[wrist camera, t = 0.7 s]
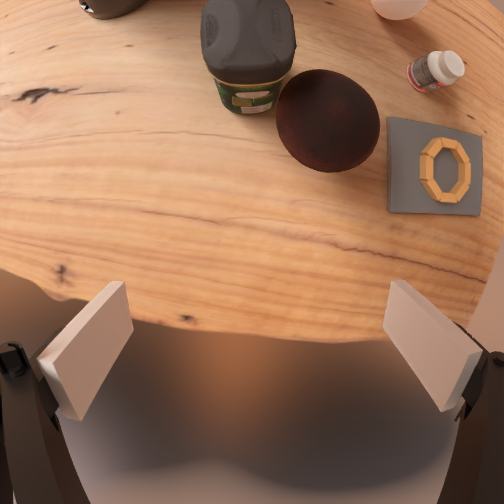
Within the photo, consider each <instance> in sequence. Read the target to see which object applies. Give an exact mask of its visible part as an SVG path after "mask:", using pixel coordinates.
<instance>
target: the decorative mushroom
mask: <svg viewBox="0 0 504 504" xmlns="http://www.w3.org/2000/svg"><path fill="white" fill-rule="evenodd" d="M276 125H277V129H278V133H279V137H280V139H281V141H282V142H283V144H284V146H285V147H286V149H287V150H288V152H289V153H290V154H291V155H292V156H293V157H294V158H295V159H296V160H298V161H299V162H300V163H302V164H303V165H305V166H307V167H309V168H311V169H314V170H316V171H321V172H327V173H331V172H341V171H345V170H349V169H352V168H354V167H356V166H358V165H360V164H361V163H362V162H364V161H365V160H366V159H367V158H368V157H369V156H370V155H371V154H372V152H373V150H374V148H375V146H376V144H377V141H378V138H379V132H380V121H379V115H378V111H377V108H376V105H375V103H374V101H373V99H372V98H371V97H370V95H369V94H368V93H367V92H366V91H365V90H364V89H363V88H362V87H361V86H360V85H359V84H357V83H356V82H355V81H353V80H352V79H350V78H348V77H346V76H344V75H342V74H340V73H337V72H334V71H329V70H322V69H317V70H309V71H305V72H302V73H300V74H298V75H296V76H295V77H293V78H292V79H291V80H290V81H289V82H288V83H287V84H286V86H285V87H284V89H283V90H282V92H281V95H280V97H279V100H278V104H277V110H276Z"/></svg>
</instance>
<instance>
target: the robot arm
mask: <svg viewBox="0 0 504 504" xmlns="http://www.w3.org/2000/svg"><path fill="white" fill-rule="evenodd" d="M147 1H148V0H79V3H80V6H81V7H82V9H83V10H84V11H85V12H86V13H88V14H89V15H90V16H92V17H94V18H97V19H110V18H115V17H118V16H121V15H124V14H127V13H129V12H131V11H133V10H135V9H136V8H138V7H140V6H141V5H143V4H144V3H146V2H147ZM382 328H383V329H384V331H385V332H386V334H387V335H388V336H389V338H390V339H391V340H392V342H393V343H394V344H395V346H396V347H397V349H398V350H399V351H400V353H401V354H402V356H403V357H404V358H405V360H406V361H407V363H408V364H409V365H410V367H411V368H412V370H413V371H414V373H415V374H416V375H417V377H418V378H419V380H420V381H421V383H422V384H423V386H424V387H425V388H426V390H427V391H428V393H429V394H430V396H431V397H432V399H433V400H434V402H435V403H436V405H437V407H438V408H439V410H440V411H441V412H442V411H446V410H448V409H451V408H454V407H455V406H456V405H457V403H458V401H459V399H460V397H461V396H462V397H463V398H464V399H465V403H464V404H463V406H462V408H461V410H460V411H459V413H458V414H457V416H456V418H455V420H454V421H457V419H458V418H459V417H460V422H459V427H458V432H457V437H456V441H455V446H454V450H453V454H452V458H451V462H450V465H449V468H448V472H447V475H446V478H445V482H444V485H443V488H442V491H441V494H440V496H439V499H438V502H437V504H504V353H502V352H496V351H495V352H491V353H489V352H488V351H487V350H486V349H485V348H484V347H483V346H482V345H481V344H480V343H479V342H477V341H476V339H474V338H472V336H471V335H470V334H469V333H467V331H466V330H465V329H464V328H463V327H462V326H460V325H459V324H457V323H455V322H453V321H451V320H450V319H449V318H448V317H447V316H446V315H445V314H444V313H442V312H441V311H440V310H439V309H438V308H437V307H436V306H434V305H433V304H432V303H431V302H430V301H429V300H428V299H426V298H425V297H424V296H423V295H422V294H421V293H419V292H418V291H417V290H416V289H415V288H414V287H412V286H411V285H410V284H409V283H408V282H406V281H405V280H404V279H401V280H391V285H390V291H389V296H388V301H387V306H386V311H385V315H384V320H383V324H382ZM133 330H134V329H133V325H132V320H131V315H130V310H129V304H128V299H127V293H126V287H125V282H123V281H111V282H110V283H109V284H108V285H107V286H106V287H105V288H103V289H102V290H101V291H100V292H99V293H98V294H97V295H96V296H95V297H94V298H93V299H92V300H91V301H90V302H89V303H88V304H87V305H86V306H85V307H84V308H83V309H82V310H81V311H80V312H79V313H78V314H77V315H76V317H75V318H74V319H73V320H72V321H71V322H70V323H69V324H68V325H67V326H64V327H62V328H60V329H59V330H57V331H55V332H54V333H53V334H52V335H51V336H50V337H49V340H47V341H46V342H45V343H44V345H42V346H41V347H40V348H39V349H38V350H37V351H36V352H35V354H34V355H33V356H32V357H31V358H30V359H29V360H28V358H27V356H26V353H25V351H24V349H23V346H22V344H21V343H19V342H16V341H12V342H7V343H4V344H2V345H1V346H0V504H13V491H14V495H15V499H16V502H17V504H91V503H90V501H89V499H88V497H87V495H86V493H85V491H84V489H83V487H82V484H81V482H80V479H79V477H78V475H77V472H76V470H75V467H74V465H73V462H72V459H71V457H70V454H69V451H68V448H67V445H66V442H65V439H64V436H63V433H62V430H61V426H60V423H59V420H58V417H57V415H56V414H55V411H56V410H57V408H58V407H60V409H61V411H62V412H63V414H64V416H65V417H67V418H70V419H74V420H77V421H82V419H83V417H84V415H85V413H86V411H87V410H88V408H89V406H90V404H91V402H92V400H93V399H94V396H95V395H96V393H97V391H98V390H99V388H100V386H101V384H102V383H103V381H104V379H105V377H106V375H107V374H108V372H109V370H110V369H111V367H112V365H113V364H114V362H115V360H116V358H117V357H118V355H119V353H120V352H121V350H122V348H123V347H124V345H125V343H126V342H127V340H128V338H129V337H130V335H131V334H132V332H133Z"/></svg>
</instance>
